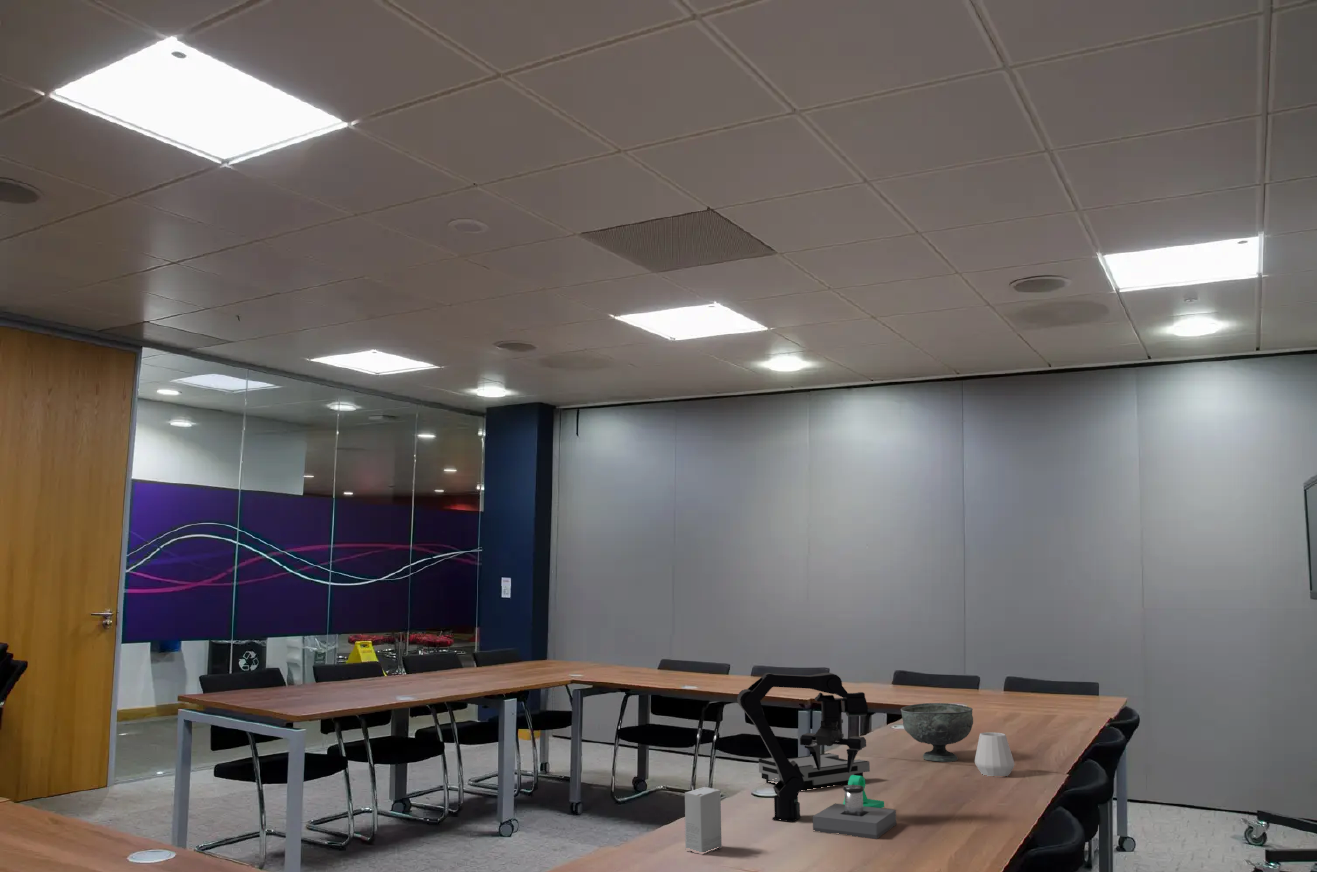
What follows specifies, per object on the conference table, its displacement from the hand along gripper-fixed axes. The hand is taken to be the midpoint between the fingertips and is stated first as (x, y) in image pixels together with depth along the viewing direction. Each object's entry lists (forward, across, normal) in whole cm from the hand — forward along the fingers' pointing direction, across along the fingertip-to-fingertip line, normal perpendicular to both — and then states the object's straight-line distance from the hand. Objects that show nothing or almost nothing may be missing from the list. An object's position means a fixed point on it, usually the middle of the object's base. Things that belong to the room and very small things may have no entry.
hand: (833, 771), depth 287 cm
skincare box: (+13, -18, -49) cm, 54 cm away
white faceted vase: (+13, +28, +87) cm, 92 cm away
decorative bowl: (+13, +3, +109) cm, 110 cm away
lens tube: (+12, +9, -9) cm, 17 cm away
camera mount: (+13, +5, +12) cm, 18 cm away
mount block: (+13, +9, -9) cm, 18 cm away
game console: (+14, -24, +47) cm, 54 cm away
